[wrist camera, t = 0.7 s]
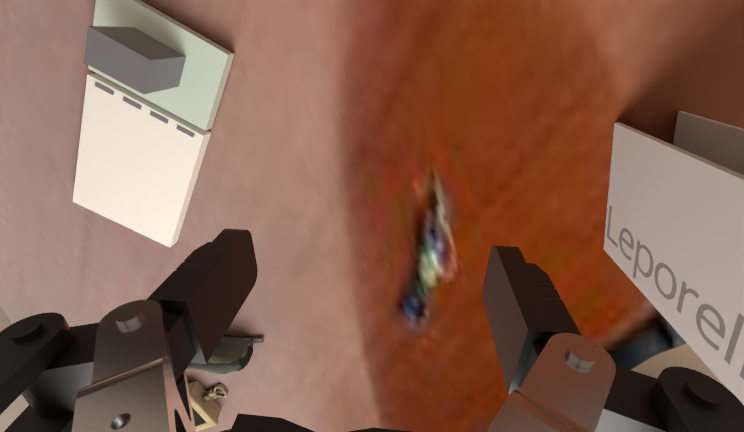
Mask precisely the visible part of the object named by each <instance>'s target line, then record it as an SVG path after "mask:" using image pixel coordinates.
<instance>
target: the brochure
mask: <svg viewBox="0 0 744 432" xmlns="http://www.w3.org/2000/svg"><path fill="white" fill-rule="evenodd" d="M604 250H605V251H606V253H607V254H608V255H609V256H610V257H611V258H612V259H613V260H614V262H615V263H616V264H617V265H618V266H619V267H620V268H621V269H622V271H623V272H624V273H625V274H626V275H627V276H628V277H629V278H630V280H631V281H632V282H633V283H634V284H635V285H636V286H637V287H638V289H639V290H640V291H641V292H642V293H643V294H644V295H645V296H646V298H647V299H648V300H649V301H650V302H651V303H652V304H653V305H654V307H655V308H656V309H657V310H658V311H659V312H660V313H661V314H662V316H663V317H664V318H665V319H666V320H667V321H668V322H669V323H670V325H671V326H672V327H673V328H674V329H675V330H676V331H677V332H678V334H679V335H680V336H681V337H682V338H683V339H684V340H685V341H686V343H687V344H688V345H689V346H690V347H691V348H692V349H693V350H694V352H695V353H696V354H697V355H698V356H699V357H700V358H701V359H702V361H703V362H704V363H705V364H706V365H707V366H708V367H709V368H710V370H711V371H712V372H713V373H714V374H715V375H716V376H717V377H718V379H719V380H720V381H721V382H722V383H723V384H724V385H725V386H726V388H727V389H728V390H730V391H731V392H732V393H733V394H734V395H735V396H736V397H737V398H738V399H739V400H740V402H741V403H742V404H743V405H744V129H743V128H739V127H736V126H733V125H729V124H726V123H722V122H719V121H715V120H712V119H708V118H705V117H701V116H698V115H694V114H691V113H687V112H684V111H679V112H678V116H677V122H676V128H675V134H674V140H673V145H672V144H669V143H667V142H665V141H662V140H660V139H658V138H655V137H653V136H651V135H648V134H646V133H644V132H641V131H639V130H637V129H634V128H632V127H630V126H627V125H625V124H623V123H620V122H616V123H614V135H613V146H612V158H611V170H610V181H609V193H608V204H607V216H606V228H605V239H604Z"/></svg>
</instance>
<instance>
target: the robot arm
mask: <svg viewBox="0 0 744 432" xmlns="http://www.w3.org/2000/svg"><path fill="white" fill-rule="evenodd" d="M184 261H185V262H184V263H182V264H181V265H180V266H179V267H178V268H177V270H176V271H174V272H173V273H172V274H171V275H170V276H169V277H168V278H167V279H166V280H165V281H164V282H163V283H162V284H161V285H160V286H159V287H158V288H157V289H156V290H155V291H154V292H153V293H152V294H151V296H150V297H149V298H148V299H147V300H137V301H132V302H129V303H126V304H124V305H121V306H119V307H117V308H115V309H114V310H112V311H111V312H109V313H108V314H107V315H105V316H104V317H103V318H102V320H101V321H100V322H99V323H94V324H88V325H81V326H75V327H69V326H68V324H67V322H66V320H65V318H64V317H63V316H62V315H61V314H58V313H42V314H37V315H34V316H30V317H28V318H25V319H22V320H20V321H18V322H16V323H14V324H12V325H10V326H9V327H7V328H6V329H4V330H3V331H1V332H0V414H1V413H2V412H3V411H4V410H5V409H6V408H7V407H8V406H9V405H10V404H11V403H12V402H13V401H14V400H15V399H16V398H17V397H18V396H19V395H20V394H22V395H23V397H24V398H25V399H26V401H27V402H28V403H29V406H28V407H27V408H26V409H25V410H24V411H23V412H22V413H21V415H20V416H19V417H17V419H16V420H15V421H14V422H13V423H12V424H11V425H10V426H9V427H8V428H7V429H6V430H5V431H4V432H196V429H195V423H194V417H193V411H192V405H191V399H190V393H189V388H188V382H187V377H186V374H185V370H186V368H187V367H188V365H189V364H190V363H198V364H207V362H208V361H209V359H210V357H211V356H212V354H213V352H214V351H215V349H216V347H217V346H218V344H219V342H220V341H221V339H222V338H223V336H224V334H225V333H226V331H227V329H228V328H229V326H230V324H231V323H232V321H233V319H234V318H235V316H236V314H237V313H238V311H239V309H240V308H241V306H242V305H243V303H244V301H245V300H246V298H247V296H248V295H249V293H250V291H251V290H252V288H253V286H254V284H255V282H256V278H257V264H256V258H255V253H254V247H253V242H252V236H251V233H250V232H249V231H248V230H239V229H224V230H223V231H222V232H221V233H220V234H219V235H218V236H217V237H216V238H215V239H214V241H213V242H208V243H206V244H204V245H203V246H201V247H199V248H198V249H196V250H194V251H193V252H192V253H191V254H190V255H189V256H188V257H187V258H186V259H185V260H184ZM483 300H484V305H485V309H486V313H487V316H488V320H489V324H490V328H491V331H492V335H493V339H494V343H495V346H496V350H497V354H498V358H499V361H500V365H501V369H502V373H503V376H504V380H505V384H506V388H507V392H508V394H510V396H509V397H508V399H507V400H506V402H505V403H504V405H503V407H502V408H501V410H500V411H499V413H498V415H497V416H496V418H495V419H494V421H493V423H492V424H491V426H490V427H489V429H488V431H487V432H744V405H743V404H742V403H741V402H740V400H739V399H738V398H737V397H736V396H735V395H734V394H733V393H732V392H731V391H730V390H728V389H727V388H726V387H724V386H723V385H722V384H720V383H719V382H717V381H716V380H714V379H712V378H710V377H709V376H706V375H704V374H702V373H700V372H698V371H695V370H691V369H688V368H684V367H669V368H666V369H664V370H663V371H662V372H661V374H660V375H659V377H658V379H656V378H653V377H650V376H647V375H643V374H641V373H637V372H634V371H631V370H628V369H625V368H622V367H620V366H617V365H615V364H614V361H613V360H612V358H611V356H610V355H609V354H608V353H607V352H606V351H605V350H604V349H603V348H602V347H601V346H600V345H598V344H597V343H595V342H593V341H592V340H590V339H588V338H585V337H583V336H582V335H581V334H580V332H579V330H578V328H577V326H576V325H575V323H574V321H573V319H572V317H571V316H570V314H569V312H568V310H567V308H566V307H565V305H564V303H563V301H562V300H560V296H559V294H558V292H557V290H556V289H554V285H553V283H552V281H551V280H550V278H549V276H548V274H546V273H545V272H544V271H543V270H542V269H541V268H539V267H538V266H537V265H536V264H530V263H526V261H525V259H524V257H523V255H522V253H521V251H520V249H519V248H518V247H508V246H493V247H492V248H491V251H490V256H489V260H488V265H487V270H486V275H485V280H484V285H483ZM221 432H314V431H312V430H309V429H307V428H304V427H302V426H299V425H297V424H294V423H292V422H290V421H287V420H285V419H282V418H276V417H266V416H256V415H247V414H238V415H237V417H236V420H235V422H234V424H233V426H232V429H229V430H225V431H221ZM350 432H409V431H400V430H390V429H381V428H369V429H363V430H357V431H350Z"/></svg>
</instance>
